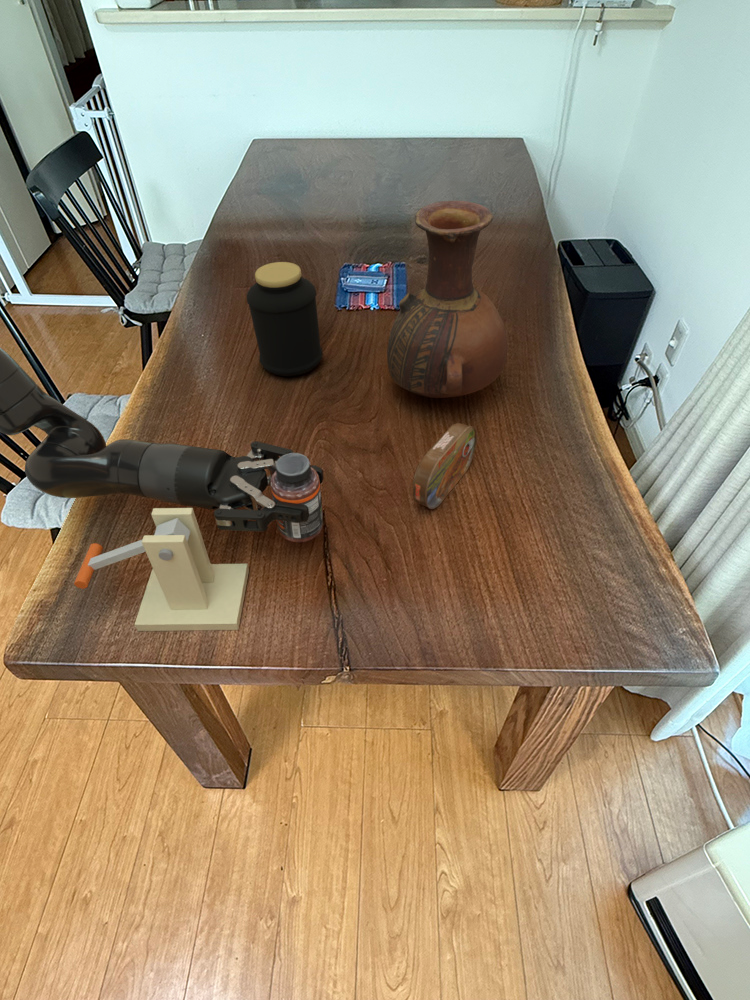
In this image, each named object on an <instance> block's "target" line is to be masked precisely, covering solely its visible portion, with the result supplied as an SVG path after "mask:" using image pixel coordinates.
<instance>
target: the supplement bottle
mask: <svg viewBox="0 0 750 1000" xmlns="http://www.w3.org/2000/svg"><path fill="white" fill-rule="evenodd" d="M279 457H280V458H279V459H278V460H277V462H276V471H275V472H274V474H273V475H272V478H271V483H270V484H271V486H270V492H271V497H272V498H271V499H272V500H273V501H274V502H275V504H277V502H278V501H282V502H289V503H296V504H302V505H306V506H307V507H308V509H309V518H308V520H307V521H306V522H303V521H302V522H300V523H295V522H288V521H282V520H276V527H277V530H278V533H279V534H280V536H281V537H282V538H284V539H285V540H286V541H289V542H292V543H307V542H309V541H311V540H313V539H315V538H316V537H317V536H318V535H319V534H320V533H321V531H322V530H323V526H324V516H323V504H322V492H321V484H320V480H319V476H318V474H317V472H316V471H315V470H314V469H313V468H312V467H310V465H311V462H310V460H309V458H308V456H306V455H305V454H303V453H300V452H293V453H289V454H286V455H283V456H282V457H281V456H279Z"/></svg>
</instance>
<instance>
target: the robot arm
mask: <svg viewBox="0 0 750 1000" xmlns="http://www.w3.org/2000/svg"><path fill="white" fill-rule="evenodd" d="M32 427H34V428H37V429H39V430H41V431H42V432H44V433H46V435H47V436H46V437H45V438H44V439H43V440H42V441H41V442H40V443H39V444H38V445H37V446H36V447H35V448H34V449H33V450H32V452H31V453H30V454H29V455H28V457H27V459H26V461H25V463H24V472H25V476H26V478H27V480H28V481H29V483H30V484H31V485H32V486H33V487H34V488H36V489H37V490H39V491H40V492H42V493H44V494H46V495H48V496H52V497H56V498H61V499H83V498H89V497H92V498H93V497H102V496H110V495H116V494H123V495H129V496H136V497H140V498H148V499H151V500H152V499H153V500H155V501H159V502H163V503H168V504H173V505H179V506H180V505H181V506H186V507H191V508H199V509H205V510H212V511H213V516H214V519H215V524H216V527H217V529H218V530H220V531H235V532H236V531H237V532H238V531H239V532H257V533H264V532H266V531H267V530H268V526H269V525H270V523H272V522H275V521H276V520H282V521H288V522H295V523H300V522H302V521H303V522H306V521H307V520H308V518H309V509H308V507H307V506H306V505H302V504H296V503H289V502H282V501H278V502H277V504H275V502H274V501H273V499H272V498H269V497H268V496H266V495H265V494H264V492H265V490H266V489H267V487H271V484H270V483H271V478H272V475H273V474H274V472H275V471H276V462H277V460H278V459H279V458H280V457H282V456H283V455H286V454H289V453H294V451H293V449H290V448H286V447H282V446H278V445H274V444H270V443H266V442H261V441H257V440H254V441H252V442H251V443H250V451H249V452H248V453H247V454H246V455H242V456H232V455H230V454H229V453H228V452H227V451H224V450H222V449H216V448H208V447H202V446H194V445H187V444H181V443H171V442H170V443H168V442H167V443H158V442H151V441H143V440H138V439H137V440H136V439H127V438H126V439H125V438H121V439H116V440H113V441H112V442H110V443H109V444H108V445H107V442H106V440H105V437H104V436H103V434H102V433H101V431H100V430H99V428H97V427H96V426H95V425H94V424H93V423H92V422H90V421H89V420H87V419H86V418H84V417H83V416H81V415H80V414H78V413H77V412H75V411H73V410H72V409H70V408H69V407H68V406H66V405H65V404H63V403H62V402H60V401H59V400H57V399H56V398H54V397H53V396H51V395H49V394H48V393H46V392H45V391H44V390H43V389H42V388H41V387H40V386H39V384H38V383H36V381H35V380H34V379H33V378H32V377H31V375H29V374H28V373H27V372H26V371H25V370H24V369H23V368H22V367H21V366H20V364H19V363H18V362H17V361H16V360H15V359H14V358H13V357H12V356H11V354H9V353H8V352H7V351H5V350H4V349H3V348H2V347H0V433H1V434H3V435H6V436H15V435H19V434H22V433H23V432H26V431H27V430H29V429H31V428H32ZM310 467H312V468H313V469H314V470H315V471H316V472H317V474H318V476H319V480H320V485H322V484H323V482H324V470H323V469H322V467H320V466H317V465H312V464H310ZM266 470H267V471H268V470H269V473H270V474H269V475H268V474H267V471H266ZM241 508H244V509H241Z"/></svg>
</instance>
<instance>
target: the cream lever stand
mask: <svg viewBox="0 0 750 1000" xmlns="http://www.w3.org/2000/svg"><path fill="white" fill-rule="evenodd" d="M150 515H151V518H152V520H153V523H154V525H155V527H156V528H157V526H158V525H160V524H163V523H165V522H168V521H171V520H173V519H176V518H178V519H179V520H180V521H181V522H182V523H183V524H184V525H185V526H186V527H187V528H188V529H189V530H190V531H191V532H190V535H189V539H188V542H187V540H186V537H185V535H154V534H153V535H151V534H150V535H149V534H148V535H145V534H144V535H143V537H142V539H141V540H142V544H143V547H144V549H145V551H146V552H145V553H146V556H147V558H148V560H149V563H150V565H151V567H152V569H151V572H150V575H149V579H148V581H147V584H146V587H145V591H144V595H143V597H142V600H141V603H140V606H139V609H138V612H137V616H136V618H135V622H134V627H135V629H136V631H138V632H173V631H174V632H175V631H177V632H178V631H180V632H181V631H189V632H190V631H239V629H240V624H241V618H242V612H243V608H244V607H243V606H244V600H245V596H246V589H247V585H248V579H249V573H250V568H249V565H248V563H211V560H210V558H209V555H208V551H207V548H206V545H205V542H204V539H203V536H202V535H203V534H202V532H201V529H200V526H199V524H198V520H197V517H196V514H195V511H194V507H153V508H152V511H151V513H150ZM156 528H155V529H156Z"/></svg>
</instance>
